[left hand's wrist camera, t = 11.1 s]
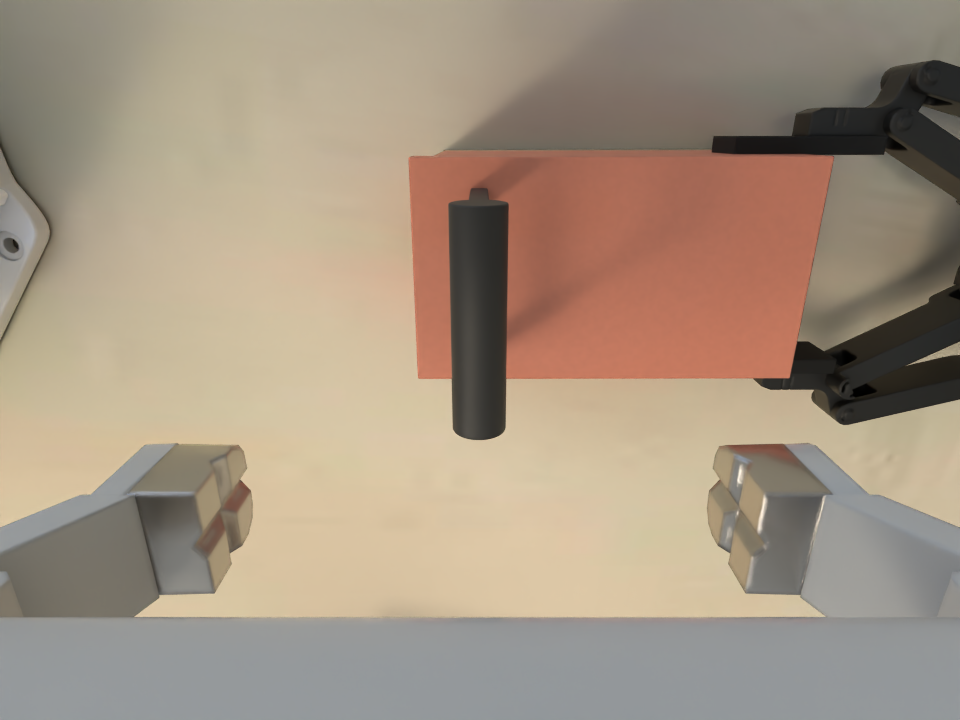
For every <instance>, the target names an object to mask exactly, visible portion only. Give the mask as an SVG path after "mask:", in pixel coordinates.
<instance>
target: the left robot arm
mask: <svg viewBox="0 0 960 720" xmlns="http://www.w3.org/2000/svg"><path fill="white" fill-rule="evenodd" d="M49 236H50V229H49V225H48V223H47V221H46V219H45V217H44V216H43V214H42V213H41V211H40V210H39V209H38V207H37V206H36V205H35V203H34V202H33V201H32V200H31V199H30V197H29V196H28V195H27V194H26V193H25V192H24V190H23V189H22V188H21V187H20V186H19V185H18V184H17V182H16V181H15V179H14V177H13V175H12V174H11V171H10V169H9V167H8V165H7V163H6V160H5V158H4V155H3V153H2V150H1V148H0V339H1V337H2V335H3V333H4V331H5V329H6V327H7V325H8V323H9V321H10V319H11V317H12V315H13V313H14V311H15V309H16V306H17V304H18V302H19V300H20V298H21V296H22V294H23V292H24V290H25V288H26V286H27V284H28V282H29V280H30V278H31V276H32V274H33V271H34V269H35V267H36V265H37V263H38V261H39V259H40V257H41V255H42V253H43V251H44V249H45V247H46V245H47V242H48V240H49ZM13 239H14V240H15V241H16V242H17V243H18V245H19V249H17V248H15V246H14V245H13ZM246 469H247V465H246V460H245V455H244V451H243V450H242V449H241V448H240V446H239V445H209V444H178V443H171V444H149V445H144V446H143V447H142V448H141V449H140V450H139V451H138V452H137V453H136V454H135V455H133V456H132V457H131V458H130V459H129V460H128V461H127V462H126V463H125V464H124V465H123V466H121V467H120V468H119V469H118V470H117V471H116V472H115V473H114V474H113V475H112V476H111V477H109V478H108V479H107V480H106V481H105V482H104V483H103V484H102V485H101V486H100V487H99V488H97V489H96V490H95V491H94V492H93V493H92V494H91V495H79V496H77V497H74V498H72V499H69V500H67V501H64V502H62V503H59V504H57V505H55V506H52V507H50V508H47V509H45V510H42V511H40V512H37V513H35V514H32V515H30V516H27V517H25V518H23V519H20V520H18V521H15V522H13V523H10V524H8V525H5V526H3V527H0V720H960V528H959V527H957V526H955V525H952V524H950V523H947V522H945V521H942V520H940V519H937V518H935V517H932V516H930V515H927V514H925V513H923V512H920V511H918V510H915V509H913V508H910V507H908V506H905V505H903V504H900V503H898V502H896V501H893V500H891V499H888V498H886V497H883V496H881V495H869V494H868V493H867V492H866V491H865V490H864V489H863V488H861V487H860V486H859V485H858V484H857V483H856V482H855V481H854V480H853V479H852V478H851V477H850V476H848V475H847V474H846V473H845V472H844V471H843V470H842V469H841V468H840V467H839V466H838V465H836V464H835V463H834V462H833V461H832V460H831V459H830V458H829V457H828V456H827V455H826V454H825V453H823V452H822V451H821V450H820V449H819V448H818V447H817V446H816V445H812V444H809V443H801V444H758V445H725V446H719V448H718V450H717V452H716V455H715V459H714V465H713V469H714V471H715V472H716V474H717V475H718V477H719V479H720V480H719V481H718V482H717V483H716V484H715V485H714V486H713V487H712V488H711V489H710V490H709V496H708V504H707V513H708V524H709V527H710V530H711V533H712V536H713V538H714V540H715V541H716V543H717V545H718V546H719V547H721V548H722V549H724V550H726V551H727V552H729V553H730V558H729V566H730V568H731V569H732V571H733V573H734V574H735V576H736V578H737V580H738V581H739V583H740V585H741V586H742V588H743V590H744V591H745V593H749V594H786V595H801V596H800V597H801V598H802V599H803V600H805V601H806V602H807V603H809V604H810V605H811V606H813V607H814V608H815V609H817V610H818V611H819V612H821V613H822V614H823V615H825V616H826V617H134V616H135V615H137V614H138V613H140V612H141V611H142V610H144V609H145V608H146V607H148V606H149V605H150V604H152V603H153V602H154V601H156V600H157V599H158V598H159V595H173V594H209V593H215V592H216V590H217V588H218V586H219V585H220V583H221V581H222V580H223V578H224V576H225V574H226V573H227V571H228V569H229V568H230V566H231V558H230V553H231V552H233V551H234V550H236V549H238V548H239V547H241V546H242V545H243V543H244V541H245V540H246V538H247V536H248V534H249V530H250V526H251V522H252V517H253V502H252V495H251V490H250V489H249V488H248V487H247V486H246V485H245V484H244V483H243V482H242V481H241V480H240V479H241V477H242V475H243V474H244V472H245V471H246Z"/></svg>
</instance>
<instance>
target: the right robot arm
mask: <svg viewBox="0 0 960 720" xmlns="http://www.w3.org/2000/svg"><path fill="white" fill-rule="evenodd" d="M881 89H882V90H881V92H880V94H879V95H878V97H877V99H876V100H875V101H874V102H873V103H872V104H871V105H869V106H868V107H865V108H814V109H806V110H804V111H801V112H799V113H796V116H795V122H794V128H793V133H792V136H714V137H713V145H712V152H713V153H725V154H810V155H884V152H887V153H888V154H890V155H891V156H893V157H894V158H896V159H897V160H899V161H900V162H902V163H903V164H905V165H906V166H908V167H909V168H911V169H912V170H914V171H915V172H917V173H918V174H920V175H921V176H923V177H924V178H926V179H927V180H929V181H930V182H932V183H933V184H935V185H936V186H938V187H939V188H941V189H942V190H944V191H945V192H947V193H949V194H950V195H952V196H953V197H955V198H956V199H957V201H956V202H957V203H958V204H959V205H960V140H959V139H957V138H956V137H954V136H953V135H951V134H950V133H948V132H947V131H946V130H944V129H943V128H941V127H940V126H938V125H937V124H935V123H934V122H932V121H931V120H930V119H928V118H927V117H925V116H924V115H922V114H921V113H919V112H918V111H919V109H920V108H921V106H925V107H928V108H932V109H935V110H938V111H941V112H944V113H948V114H951V115H954V116H957V117H960V67H958V66H954V65H951V64H948V63H945V62H942V61H937V60H932V61H926V62H920V63H913V64H907V65H901V66H895V67H892V68H890V69H889V70H887V71H886V72H885V74H884V75H883V77H882V79H881ZM954 284H956V285H954V286H952V287H950V288H948V289H945V290H943V291H941V292H939V293H937V294H935V295H933V296H931V297H930V298H929V302H928V303H927V304H925V305H923V306H921V307H919V308H917V309H915V310H912V311H910V312H908V313H906V314H904V315H902V316H899V317H897V318H895V319H893V320H891V321H889V322H887V323H884V324H882V325H880V326H878V327H876V328H874V329H871V330H869V331H867V332H865V333H863V334H861V335H858V336H856V337H854V338H852V339H850V340H848V341H846V342H843V343H841V344H839V345H837V346H835V347H833V348H830V349H828V350H826V351H822V350H821V349H819V348H818V347H816V346H815V345H813V344H811V343H810V342H797V344H796V349H795V354H794V359H793V364H792V369H791V374H790V378H753V379H754V380H755V381H756V382H757V383H758V384H760V385H761V386H762V387H765V388H768V389H770V390H781V389H783V390H789V389H790V390H814V391H813V393H812V397H811V398H812V401H813V402H814V403H815V404H816V405H817V406H819V407H820V408H821V409H822V410H823V411H825V412H826V413H827V414H828V415H830V416H831V417H832V418H833V419H835V420H836V421H837V422H838V423H840V424H843V425H849V424H853V423H858V422H862V421H867V420H871V419H875V418H880V417H884V416H889V415H893V414H897V413H902V412H906V411H911V410H915V409H919V408H924V407H928V406H933V405H937V404H941V403H946V402H950V401H955V400H959V399H960V355H954V356H947V357H942V358H938V359H933V360H929V361H925V362H920V363H916V364H912V365H908V364H910V363H913V362H915V361H917V360H919V359H922V358H924V357H926V356H928V355H931V354H933V353H935V352H937V351H939V350H942V349H944V348H946V347H948V346H951V345H953V344H955V343H957V342H960V266H959V268H958V270H957V274H956V277H955V281H954ZM906 365H908V366H906Z"/></svg>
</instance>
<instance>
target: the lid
mask: <svg viewBox="0 0 960 720" xmlns="http://www.w3.org/2000/svg"><path fill="white" fill-rule="evenodd" d="M833 161H834V156H826V155H645V156H411V157H409V180H410V203H411V226H412V249H413V273H414V296H415V319H416V342H417V365H418V378H419V379H452V409H453V430H454V431H455V433H456V434H458V435H459V436H461V437H463V438H467V439H472V440H486V439H491V438H495V437H497V436H499V435H501V434H502V433H503V432H504V430H505V425H506V379H551V378H790V374H791V369H792V364H793V359H794V354H795V349H796V344H797V339H798V334H799V329H800V324H801V319H802V314H803V309H804V304H805V299H806V294H807V290H808V285H809V280H810V275H811V270H812V265H813V260H814V255H815V250H816V245H817V240H818V235H819V230H820V225H821V220H822V215H823V210H824V205H825V200H826V195H827V190H828V185H829V180H830V175H831V170H832V166H833Z"/></svg>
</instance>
